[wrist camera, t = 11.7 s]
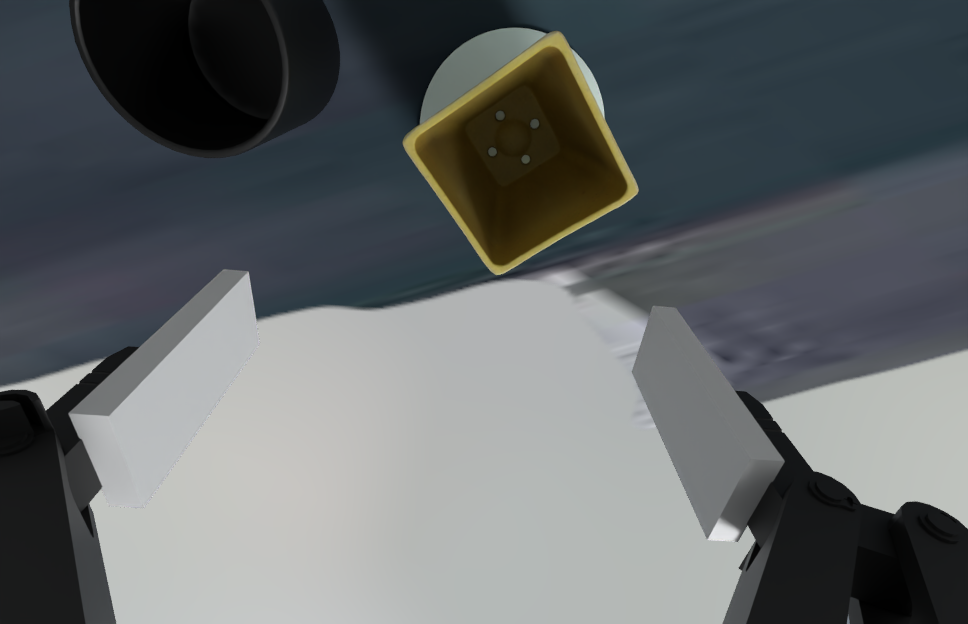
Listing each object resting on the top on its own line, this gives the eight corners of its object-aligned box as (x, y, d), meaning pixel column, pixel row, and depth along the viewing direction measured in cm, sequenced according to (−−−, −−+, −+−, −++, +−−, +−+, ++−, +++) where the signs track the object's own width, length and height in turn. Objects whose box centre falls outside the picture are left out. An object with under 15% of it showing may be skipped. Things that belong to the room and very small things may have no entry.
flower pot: (540, 27, 28) (560, 24, 21) (605, 155, 32) (642, 194, 24) (420, 113, 31) (397, 140, 23) (493, 224, 34) (494, 279, 27)
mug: (117, -61, 27) (-37, -100, 19) (335, -43, 27) (272, -75, 19) (162, 120, 31) (54, 148, 24) (347, 133, 32) (301, 165, 24)
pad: (415, 210, 34) (414, 211, 34) (426, 13, 28) (426, 13, 28) (580, 230, 35) (581, 232, 35) (625, 42, 29) (626, 43, 29)
